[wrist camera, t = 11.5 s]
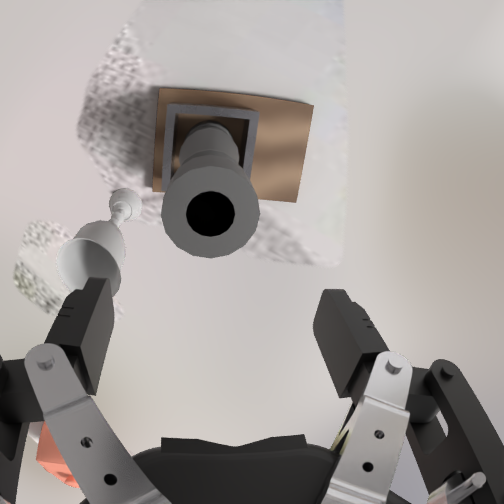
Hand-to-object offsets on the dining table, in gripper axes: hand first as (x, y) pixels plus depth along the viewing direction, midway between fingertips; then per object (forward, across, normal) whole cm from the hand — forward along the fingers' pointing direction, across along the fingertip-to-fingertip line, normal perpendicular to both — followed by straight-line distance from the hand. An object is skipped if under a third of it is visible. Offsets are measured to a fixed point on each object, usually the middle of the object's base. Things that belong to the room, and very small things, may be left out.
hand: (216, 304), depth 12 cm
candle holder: (+33, 0, 0) cm, 33 cm away
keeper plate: (+34, -3, 0) cm, 34 cm away
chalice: (+34, +11, +10) cm, 38 cm away
